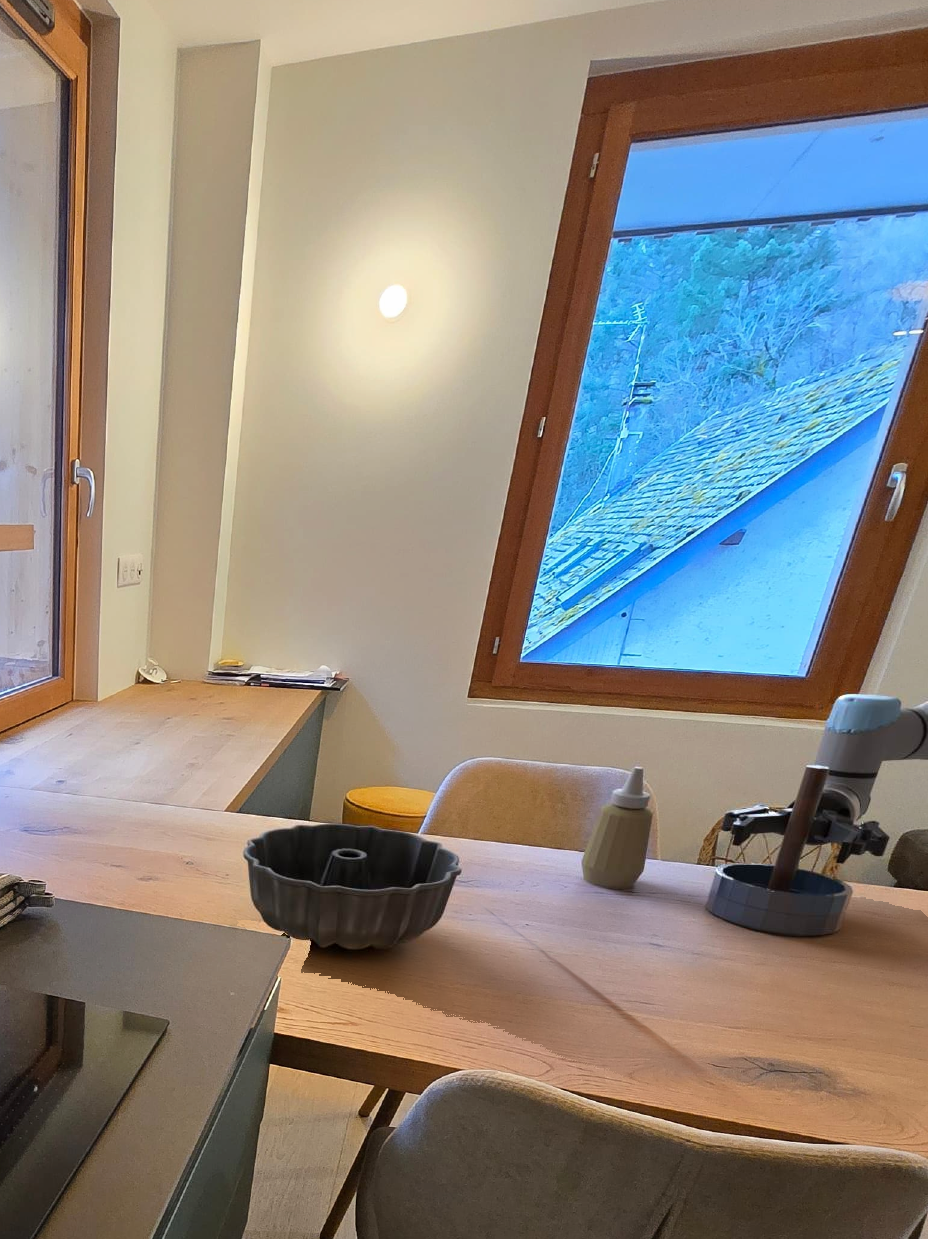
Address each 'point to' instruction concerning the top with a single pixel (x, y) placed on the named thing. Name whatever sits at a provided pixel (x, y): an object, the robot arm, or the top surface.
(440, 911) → the bundt pan
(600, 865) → the squeeze bottle
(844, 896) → the bowl
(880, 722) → the robot arm
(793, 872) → the stirring stick
